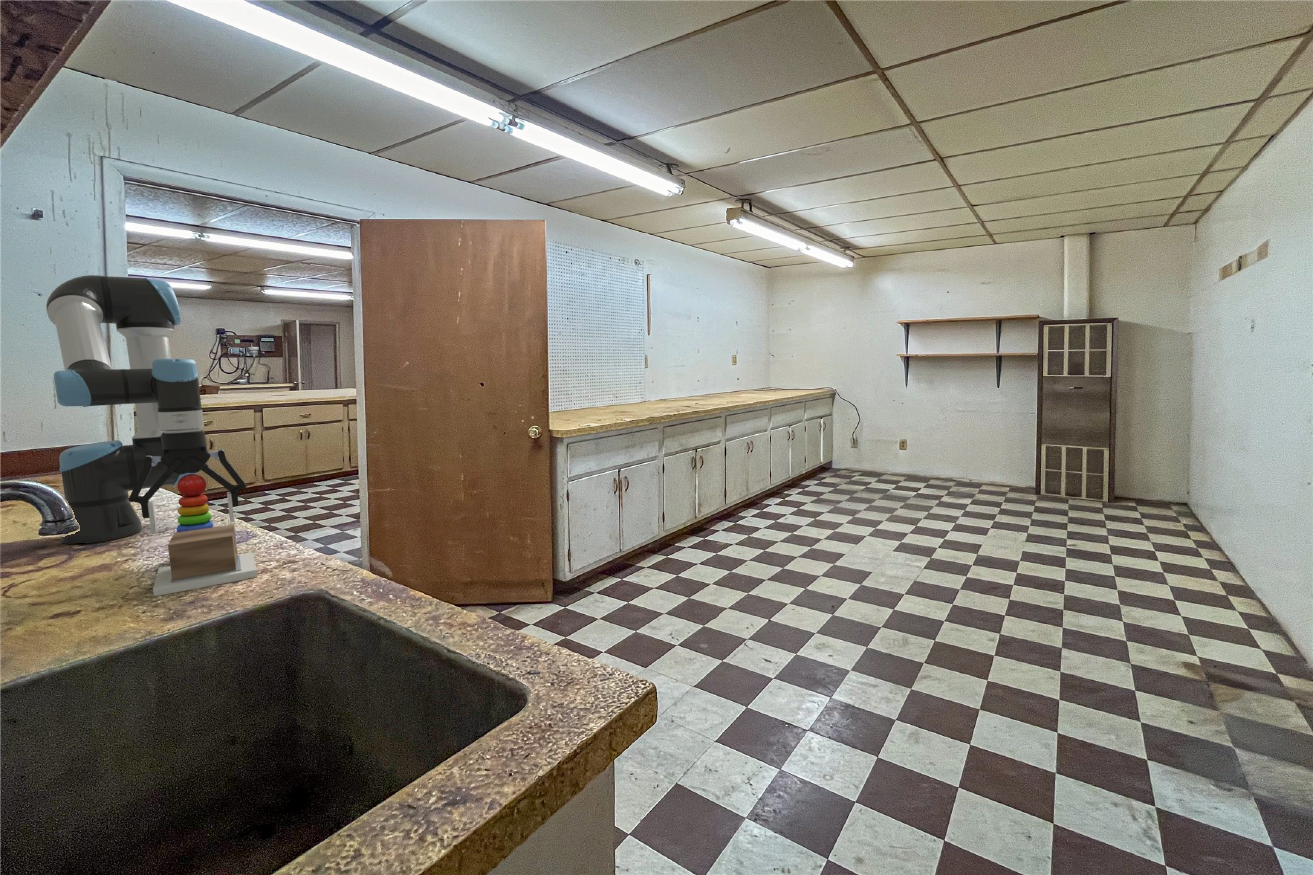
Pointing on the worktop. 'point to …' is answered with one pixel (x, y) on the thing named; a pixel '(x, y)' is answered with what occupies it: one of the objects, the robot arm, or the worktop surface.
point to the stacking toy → (193, 504)
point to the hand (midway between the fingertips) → (194, 526)
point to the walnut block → (203, 552)
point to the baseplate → (204, 577)
